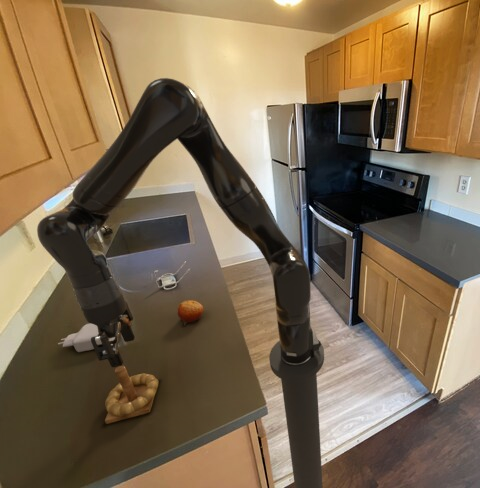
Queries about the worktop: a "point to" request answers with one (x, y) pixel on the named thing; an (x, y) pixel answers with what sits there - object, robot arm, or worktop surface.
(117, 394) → the ring
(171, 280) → the wall mount rack
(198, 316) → the fruit
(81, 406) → the worktop surface
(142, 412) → the wooden peg stand
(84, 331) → the charger
